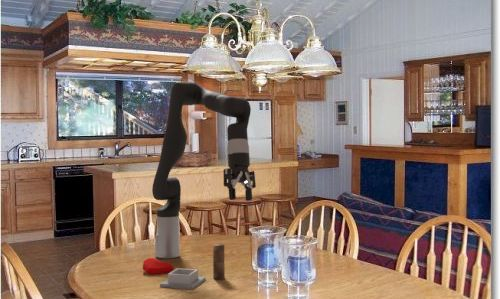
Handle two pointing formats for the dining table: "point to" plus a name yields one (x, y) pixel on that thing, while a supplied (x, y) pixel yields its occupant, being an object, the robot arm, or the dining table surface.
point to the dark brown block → (218, 262)
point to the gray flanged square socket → (183, 279)
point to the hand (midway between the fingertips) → (240, 200)
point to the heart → (156, 267)
